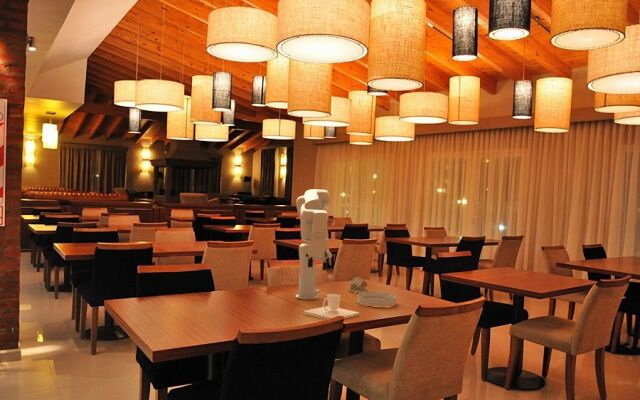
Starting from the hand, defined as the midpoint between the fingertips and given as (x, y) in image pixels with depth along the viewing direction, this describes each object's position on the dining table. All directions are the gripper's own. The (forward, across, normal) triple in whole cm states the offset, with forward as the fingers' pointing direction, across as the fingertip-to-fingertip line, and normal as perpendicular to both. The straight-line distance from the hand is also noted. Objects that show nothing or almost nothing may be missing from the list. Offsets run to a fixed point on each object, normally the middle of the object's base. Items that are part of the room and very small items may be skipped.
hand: (317, 268), depth 269 cm
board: (+21, +12, -2) cm, 24 cm away
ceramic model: (+24, -14, +61) cm, 67 cm away
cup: (+20, +11, -1) cm, 23 cm away
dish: (+23, +12, +40) cm, 48 cm away
